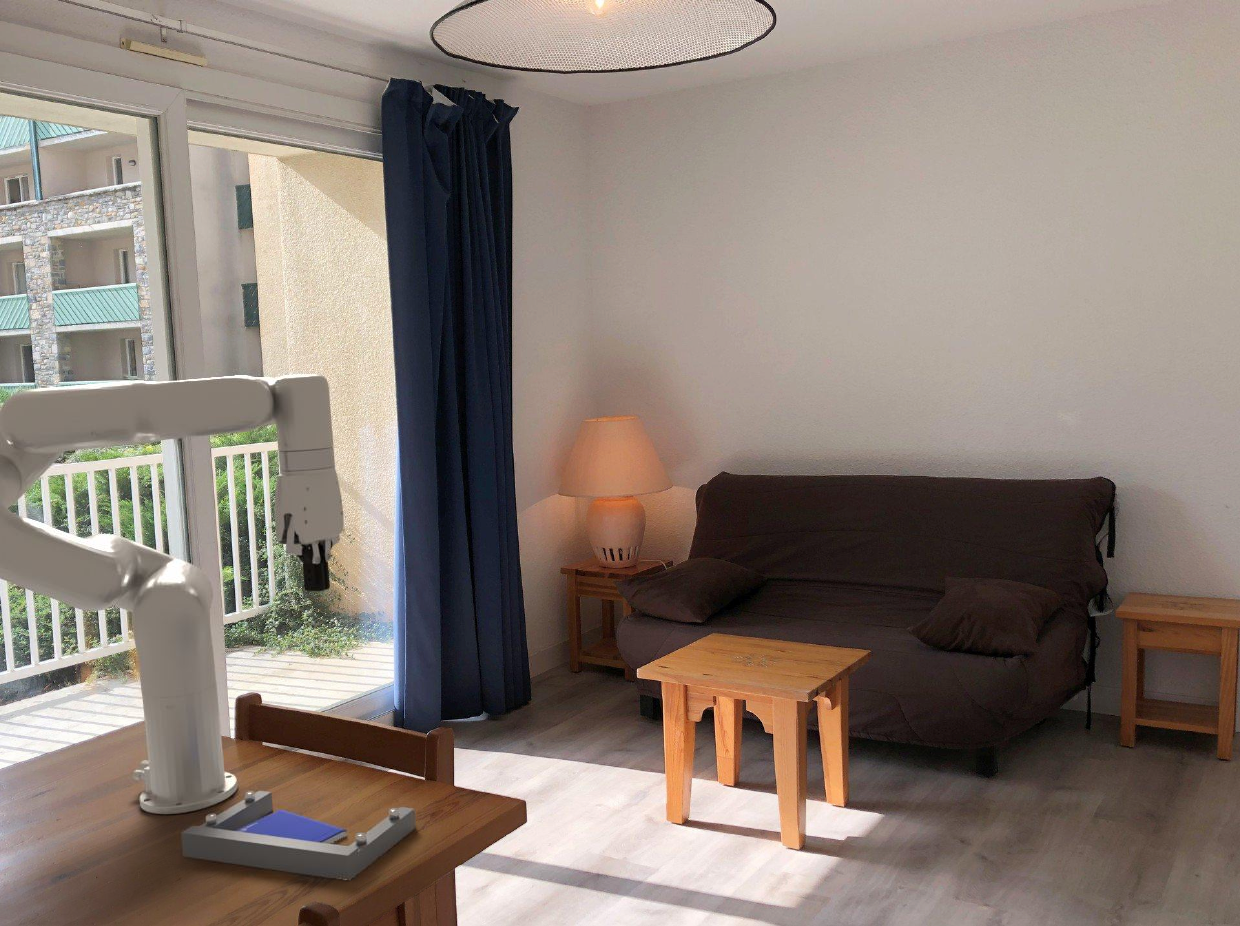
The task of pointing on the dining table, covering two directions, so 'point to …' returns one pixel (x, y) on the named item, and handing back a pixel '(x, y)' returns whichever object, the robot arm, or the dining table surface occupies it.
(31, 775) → the dining table surface
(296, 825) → the hard drive
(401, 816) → the drive tray
